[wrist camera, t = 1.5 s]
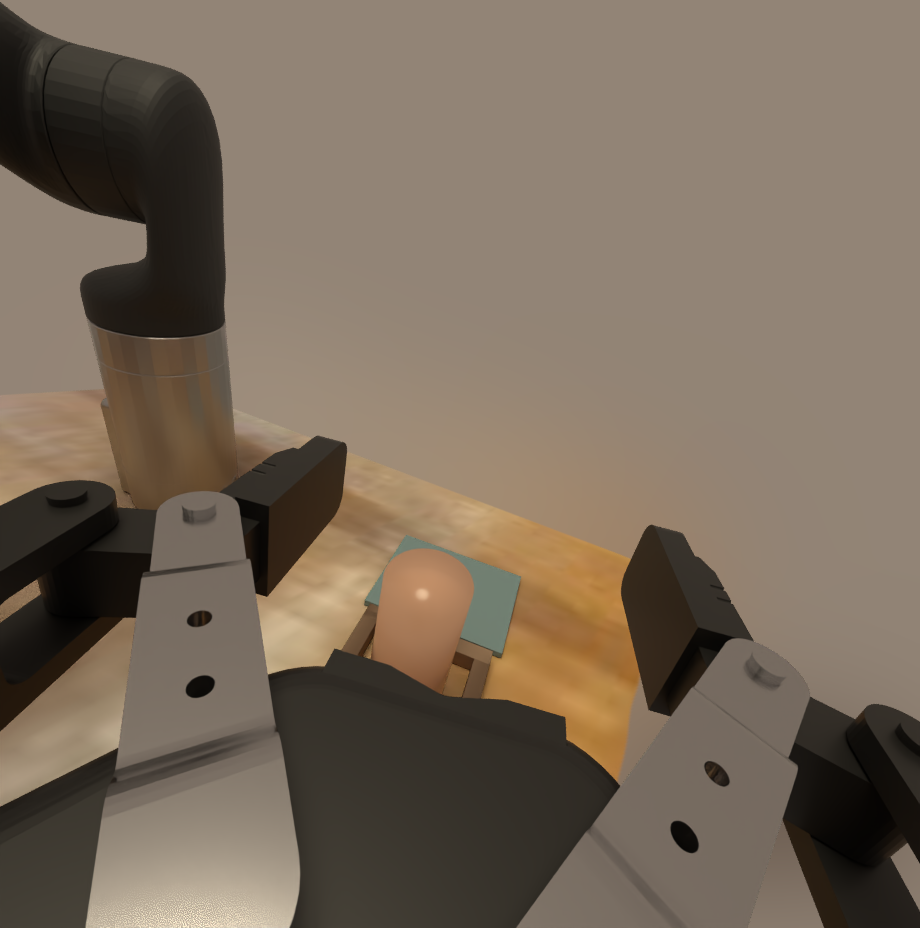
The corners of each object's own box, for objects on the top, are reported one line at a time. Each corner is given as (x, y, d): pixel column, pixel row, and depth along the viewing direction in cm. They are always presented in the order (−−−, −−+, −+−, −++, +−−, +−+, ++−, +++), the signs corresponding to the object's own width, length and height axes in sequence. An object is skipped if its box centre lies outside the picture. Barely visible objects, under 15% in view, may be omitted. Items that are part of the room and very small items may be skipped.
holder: (299, 731, 28) (299, 718, 28) (368, 615, 37) (370, 603, 36) (451, 799, 27) (456, 788, 26) (488, 662, 35) (493, 651, 34)
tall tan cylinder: (351, 717, 30) (366, 597, 23) (384, 653, 34) (404, 537, 28) (423, 749, 29) (459, 634, 23) (447, 679, 33) (483, 566, 27)
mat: (364, 604, 37) (364, 600, 37) (405, 539, 45) (406, 534, 45) (500, 658, 36) (502, 653, 35) (519, 580, 43) (520, 576, 43)
